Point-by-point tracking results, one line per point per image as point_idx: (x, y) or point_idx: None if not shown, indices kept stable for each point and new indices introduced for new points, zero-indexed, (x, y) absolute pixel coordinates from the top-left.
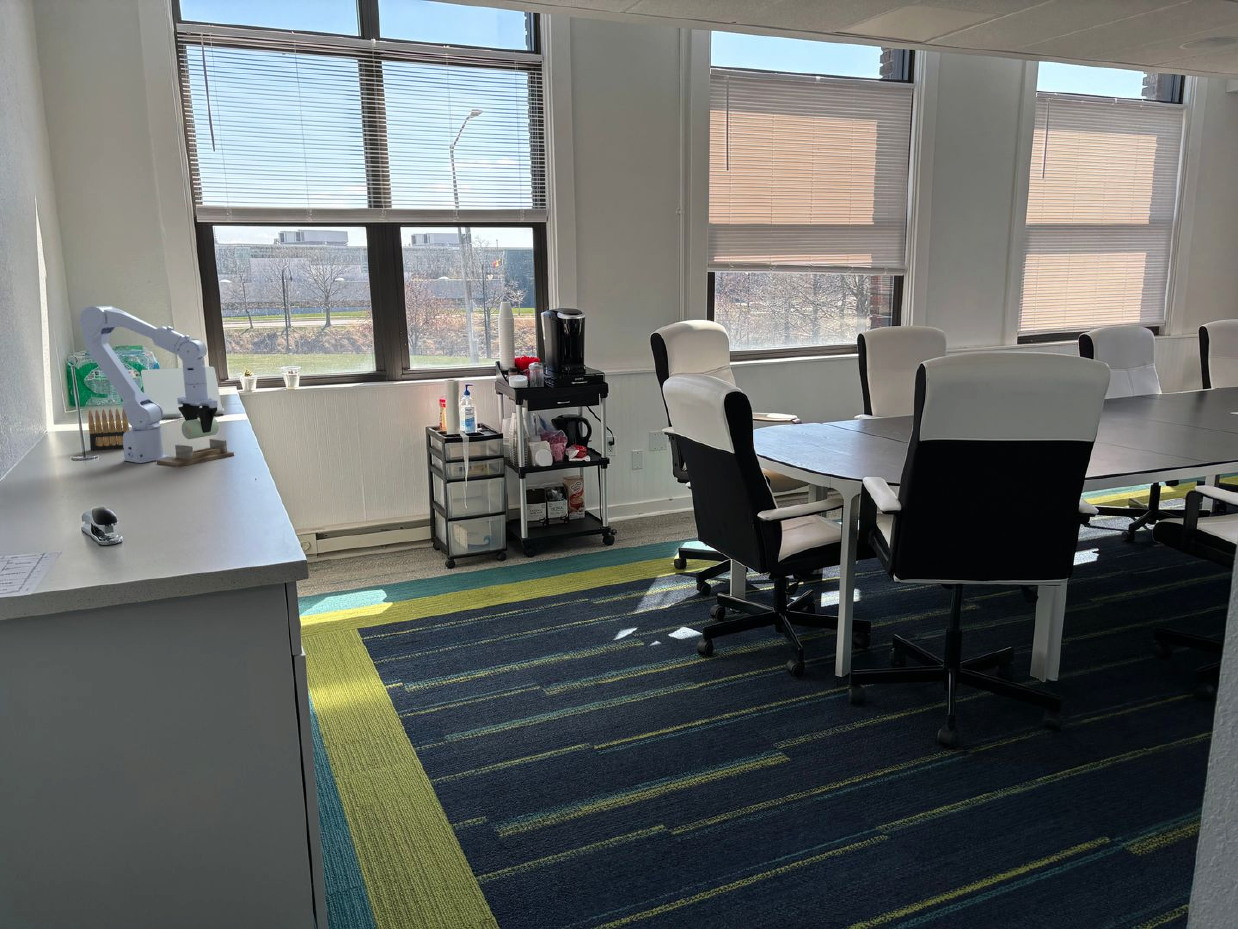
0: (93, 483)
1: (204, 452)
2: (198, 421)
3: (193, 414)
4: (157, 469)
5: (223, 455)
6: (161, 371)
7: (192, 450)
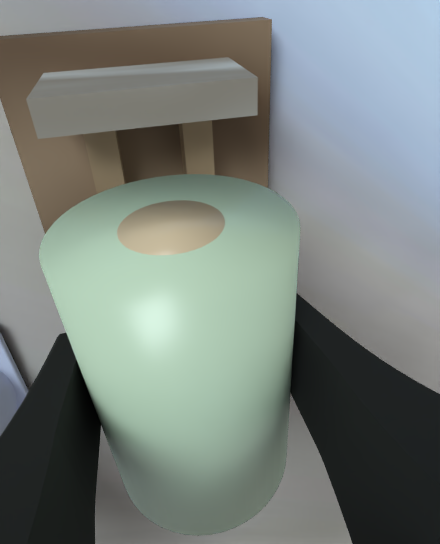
0: (250, 539)
1: None
2: (267, 452)
3: (66, 524)
4: None
5: (266, 124)
6: None
7: None
